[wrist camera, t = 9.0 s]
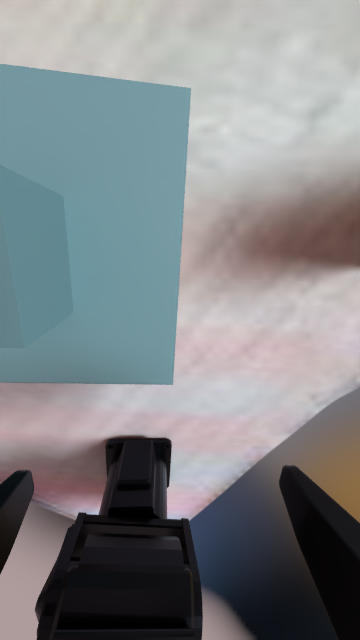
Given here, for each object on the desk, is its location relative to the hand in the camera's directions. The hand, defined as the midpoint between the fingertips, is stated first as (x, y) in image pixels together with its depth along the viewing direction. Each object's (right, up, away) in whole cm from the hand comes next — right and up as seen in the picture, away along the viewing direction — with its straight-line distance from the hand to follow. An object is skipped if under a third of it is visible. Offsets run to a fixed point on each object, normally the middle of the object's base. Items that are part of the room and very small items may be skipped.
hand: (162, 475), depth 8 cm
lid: (-6, +9, +3) cm, 11 cm away
